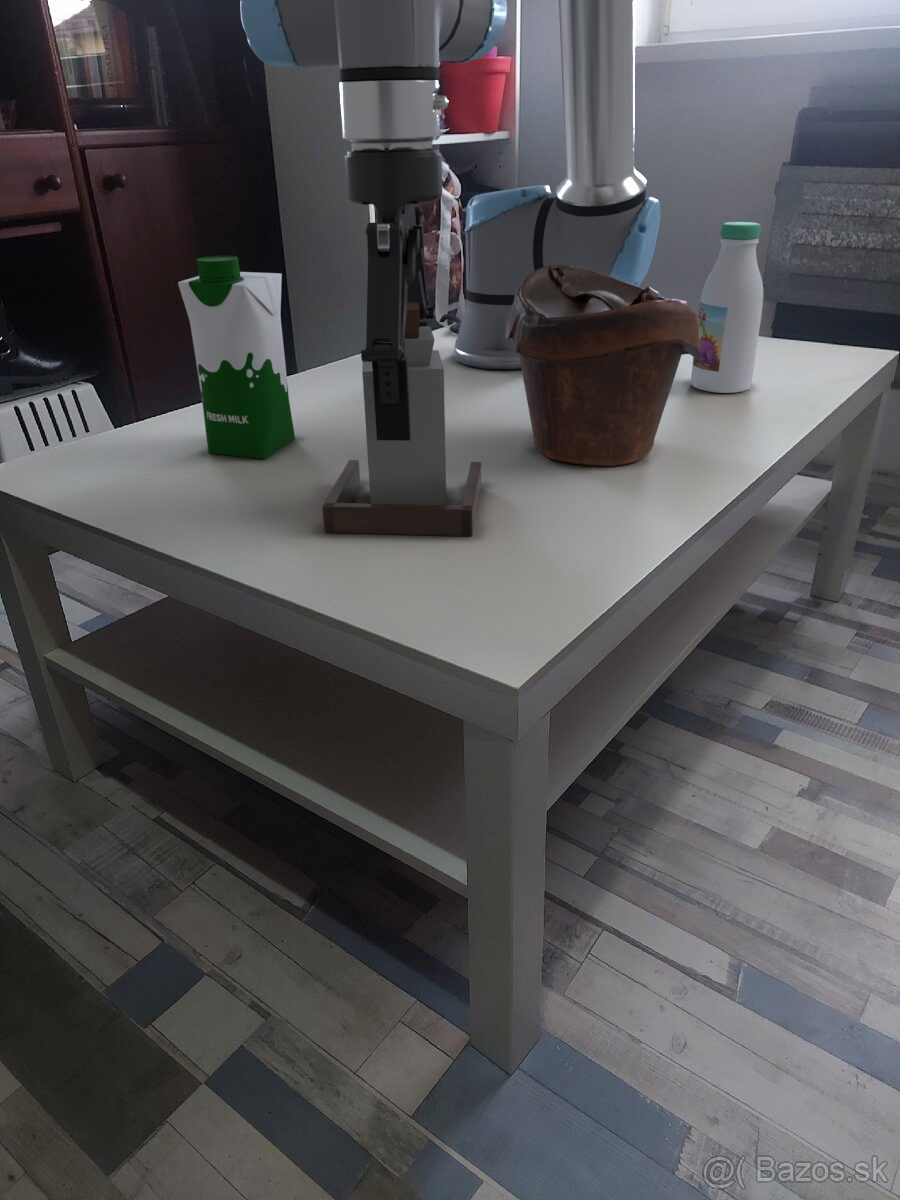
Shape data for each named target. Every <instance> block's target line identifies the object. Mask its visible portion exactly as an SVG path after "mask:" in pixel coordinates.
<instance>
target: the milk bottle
mask: <svg viewBox="0 0 900 1200" xmlns="http://www.w3.org/2000/svg"><path fill="white" fill-rule="evenodd" d="M761 228H762V225H761V224H760V223H758V222H749V221H729V222H725V223H722V225H721V229H720V240H719V242H720V245H721V246H720V251H719V254H718V256H717V259H716V260H715V263H714V265H713V267H712V269H711V271H710V272H709V274H708V277H707V278H706V280H705V282H704V285H703V288H702V291H701V296H700V303H699V307H698V308H699V309H698V315H697V319H698V330H699V344H700V352H701V358H700V362H697V361H696V360H695V358H694V357H693V356H692V367H691V375H690V377H691V378H690V382H691V385H692V386H693V388H696V389H698V390H701V391H705V392H710V393H717V394H718V393H719V394H720V393H722V394H732V393H741V392H744V391H747V390H749V389H750V387H751V386H752V382H753V376H754V369H755V363H756V357H757V356H756V355H757V349H758V342H759V335H760V330H761V329H760V327H761V320H762V313H763V306H764V305H763V303H764V284H763V279H762V275H761V272H760V269H759V265H758V259H757V245H758V244H759V243H760V242H759V239H760V236H761V230H762V229H761Z"/></svg>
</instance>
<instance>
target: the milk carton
mask: <svg viewBox="0 0 900 1200" xmlns="http://www.w3.org/2000/svg"><path fill="white" fill-rule="evenodd" d="M239 261H240V260H239V258H238V257H237V256H235V255H212V256H203V257H199V258H197V259H196V264H197V271H198V272H197V273H198V275H197V276H194V277H191V278H188V279H183V280H181V281H178V282H177V285H178V288H179V291H180V294H181V298H182V301H183V304H184V307H185V310H186V314H187V318H188V320H189V324H190V330H191V337H192V344H193V350H194V356H195V363H196V369H197V375H198V382H199V383H198V384H199V389H200V396H201V403H202V411H203V420H204V427H205V436H206V445H207V452H208V454H211V455H212V454H214V455H221V456H222V455H223V456H230V457H231V456H232V457H241V458H248V459H249V458H252V459H257V460H258V459H259V460H265V459H268V457H270V456H272V455H273V454H275V453H276V452H278V451H279V450H281V449H282V448H284V447H285V446H287V445H288V444H290V443H291V442H293V441H294V440H296V436H295V428H294V422H293V416H292V410H291V404H290V396H289V385H288V376H287V367H286V365H287V364H286V357H285V356H286V355H285V348H284V337H283V328H282V317H281V314H282V313H281V311H282V309H281V306H282V283H283V282H282V280H283V278H282V277H283V274H282V273H279V272H278V273H277V272H254V271H253V272H250V271H240V270H241V269H240V263H239Z"/></svg>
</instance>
